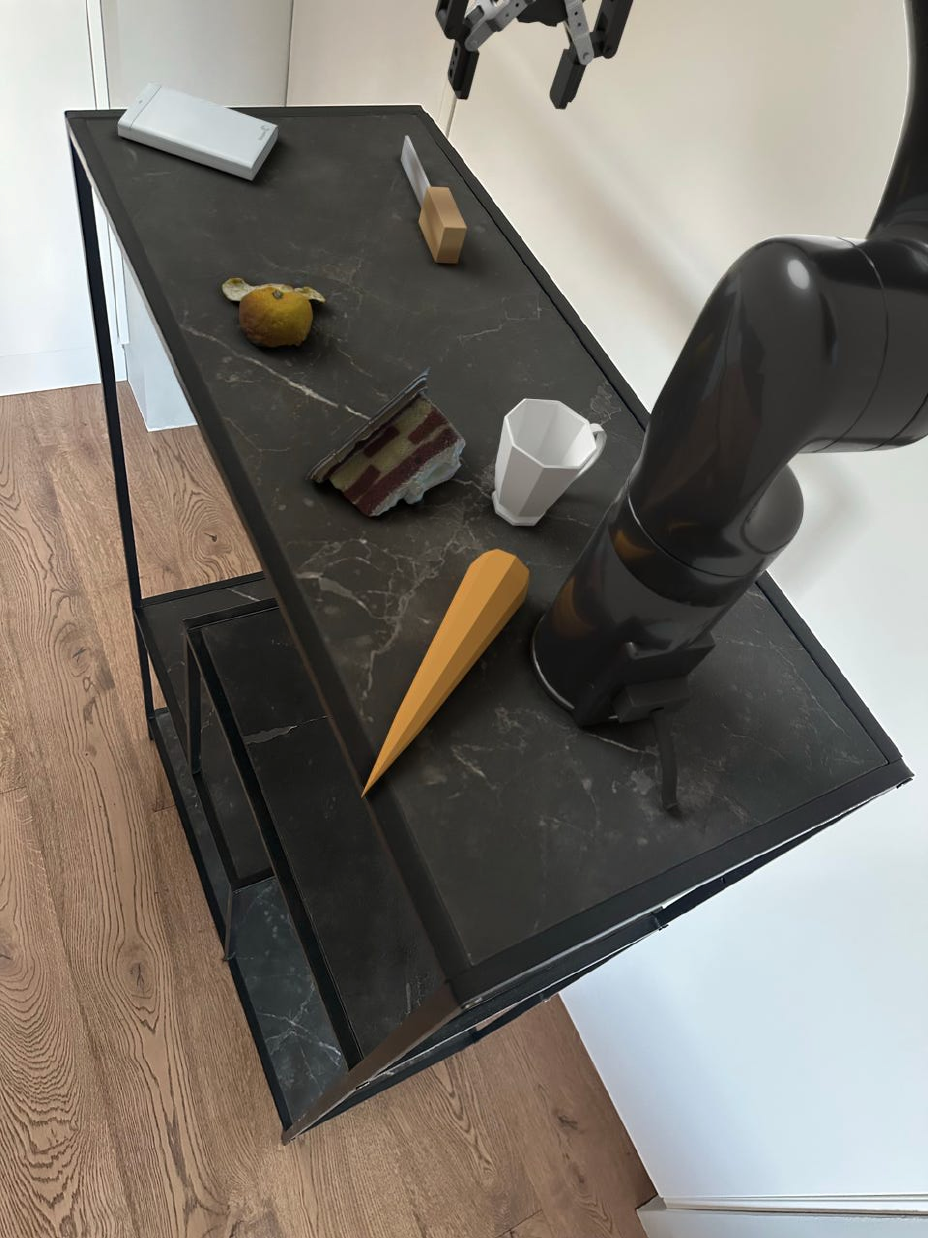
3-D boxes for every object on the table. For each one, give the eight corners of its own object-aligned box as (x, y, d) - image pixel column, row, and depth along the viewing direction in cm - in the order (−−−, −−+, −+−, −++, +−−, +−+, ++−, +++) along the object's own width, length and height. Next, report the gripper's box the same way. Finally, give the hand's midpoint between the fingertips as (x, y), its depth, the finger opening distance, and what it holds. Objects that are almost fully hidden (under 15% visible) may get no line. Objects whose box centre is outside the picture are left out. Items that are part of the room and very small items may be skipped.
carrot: (526, 541, 61) (547, 587, 64) (472, 536, 63) (494, 581, 66) (372, 786, 51) (405, 827, 54) (316, 768, 54) (350, 809, 56)
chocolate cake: (365, 553, 64) (490, 438, 62) (298, 478, 64) (421, 359, 61) (390, 539, 74) (500, 438, 71) (331, 474, 73) (440, 370, 71)
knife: (457, 263, 84) (467, 227, 81) (435, 263, 84) (444, 227, 81) (412, 160, 92) (419, 124, 89) (391, 159, 91) (398, 122, 88)
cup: (457, 484, 70) (485, 408, 63) (556, 451, 74) (592, 378, 68) (506, 552, 67) (540, 481, 61) (606, 514, 72) (647, 444, 65)
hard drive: (278, 123, 87) (151, 77, 85) (252, 166, 82) (116, 119, 81) (277, 139, 88) (151, 95, 87) (251, 183, 83) (117, 137, 82)
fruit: (321, 291, 77) (326, 255, 74) (328, 359, 73) (334, 323, 70) (221, 281, 75) (222, 242, 72) (222, 350, 71) (224, 313, 68)
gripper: (499, -143, 54) (437, 120, 67) (697, -103, 59) (603, 134, 72) (464, -198, 57) (411, 62, 71) (654, -156, 62) (572, 80, 76)
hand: (509, 98), depth 71 cm, fingers open, 8 cm apart
